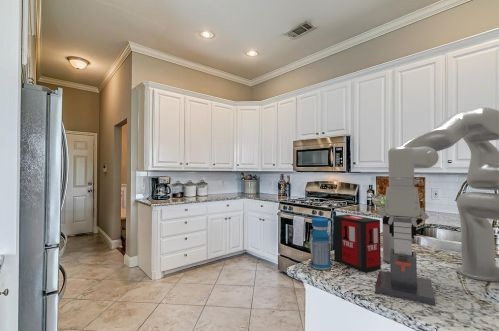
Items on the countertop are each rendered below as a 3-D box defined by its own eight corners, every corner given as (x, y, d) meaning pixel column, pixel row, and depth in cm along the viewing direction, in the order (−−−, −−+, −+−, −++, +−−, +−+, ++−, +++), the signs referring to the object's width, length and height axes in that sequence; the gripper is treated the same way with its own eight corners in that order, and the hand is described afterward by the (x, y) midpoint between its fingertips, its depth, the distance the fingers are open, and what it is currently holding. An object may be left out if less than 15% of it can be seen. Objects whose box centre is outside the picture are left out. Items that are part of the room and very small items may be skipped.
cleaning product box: (380, 269, 104) (379, 219, 105) (366, 273, 100) (365, 221, 101) (348, 257, 119) (347, 214, 119) (334, 260, 115) (333, 215, 115)
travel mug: (402, 264, 109) (401, 217, 110) (385, 263, 110) (384, 217, 111) (397, 259, 115) (396, 215, 116) (381, 259, 116) (380, 214, 117)
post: (412, 267, 87) (411, 217, 88) (412, 272, 83) (411, 220, 83) (395, 265, 90) (393, 216, 91) (394, 269, 86) (393, 218, 86)
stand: (431, 285, 89) (430, 250, 89) (435, 305, 75) (434, 264, 76) (379, 275, 97) (379, 244, 98) (375, 292, 84) (374, 255, 84)
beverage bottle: (319, 271, 102) (318, 221, 102) (306, 264, 109) (305, 217, 110) (335, 268, 105) (334, 219, 106) (322, 262, 113) (321, 216, 113)
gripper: (431, 183, 86) (432, 237, 86) (374, 182, 95) (376, 231, 95) (432, 184, 80) (434, 242, 79) (372, 183, 89) (373, 236, 88)
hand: (402, 236), depth 87 cm, fingers closed on post, 5 cm apart
